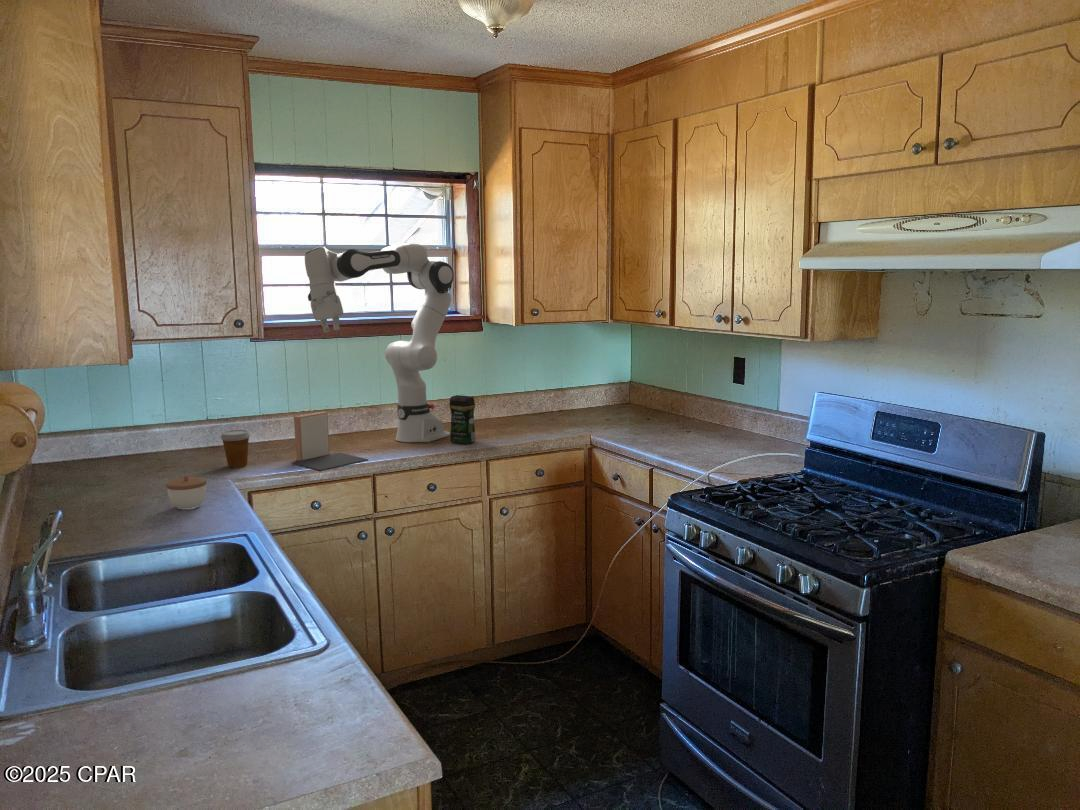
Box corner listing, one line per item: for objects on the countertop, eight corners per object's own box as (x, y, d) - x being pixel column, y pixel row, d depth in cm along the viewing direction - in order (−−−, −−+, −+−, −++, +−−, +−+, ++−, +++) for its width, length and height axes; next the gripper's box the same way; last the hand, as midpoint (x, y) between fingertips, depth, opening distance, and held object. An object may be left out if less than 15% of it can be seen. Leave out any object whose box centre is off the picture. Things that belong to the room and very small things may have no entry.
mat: (339, 453, 308) (339, 452, 308) (368, 460, 297) (367, 459, 297) (292, 463, 293) (292, 462, 293) (320, 471, 282) (320, 469, 282)
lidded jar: (196, 499, 249) (194, 469, 247) (215, 506, 242) (212, 475, 241) (161, 508, 241) (158, 476, 239) (180, 514, 234) (177, 482, 233)
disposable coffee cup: (228, 470, 284) (226, 436, 282) (219, 465, 291) (216, 432, 289) (256, 466, 290) (253, 432, 288) (246, 461, 297) (243, 428, 295)
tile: (324, 454, 307) (322, 411, 304) (330, 455, 305) (328, 412, 302) (296, 460, 298) (293, 416, 295) (301, 461, 296) (299, 417, 293)
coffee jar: (446, 443, 323) (445, 396, 320) (458, 439, 330) (457, 393, 327) (467, 445, 319) (466, 397, 316) (478, 441, 326) (477, 394, 323)
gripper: (343, 288, 291) (351, 327, 292) (322, 294, 307) (330, 331, 309) (326, 290, 287) (334, 330, 289) (305, 297, 304) (313, 334, 306)
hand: (331, 331), depth 299 cm, fingers open, 8 cm apart
